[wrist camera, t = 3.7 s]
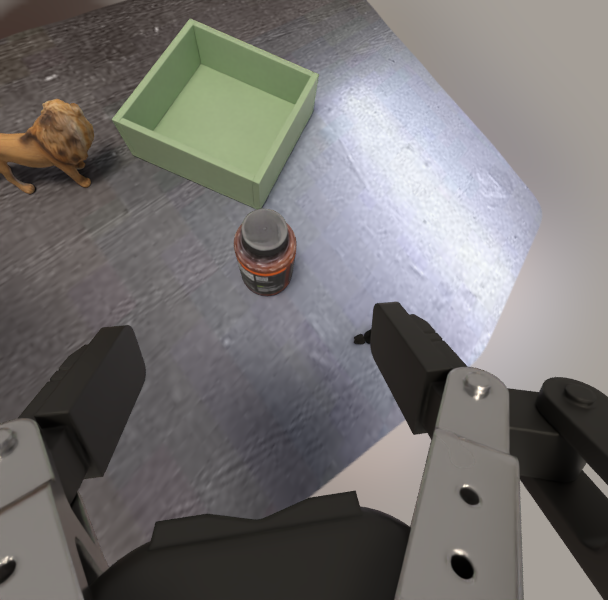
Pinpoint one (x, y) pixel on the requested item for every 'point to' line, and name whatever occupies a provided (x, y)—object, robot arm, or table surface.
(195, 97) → the desk bin
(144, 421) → the table surface
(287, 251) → the supplement bottle
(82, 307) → the table surface
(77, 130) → the lion figurine
